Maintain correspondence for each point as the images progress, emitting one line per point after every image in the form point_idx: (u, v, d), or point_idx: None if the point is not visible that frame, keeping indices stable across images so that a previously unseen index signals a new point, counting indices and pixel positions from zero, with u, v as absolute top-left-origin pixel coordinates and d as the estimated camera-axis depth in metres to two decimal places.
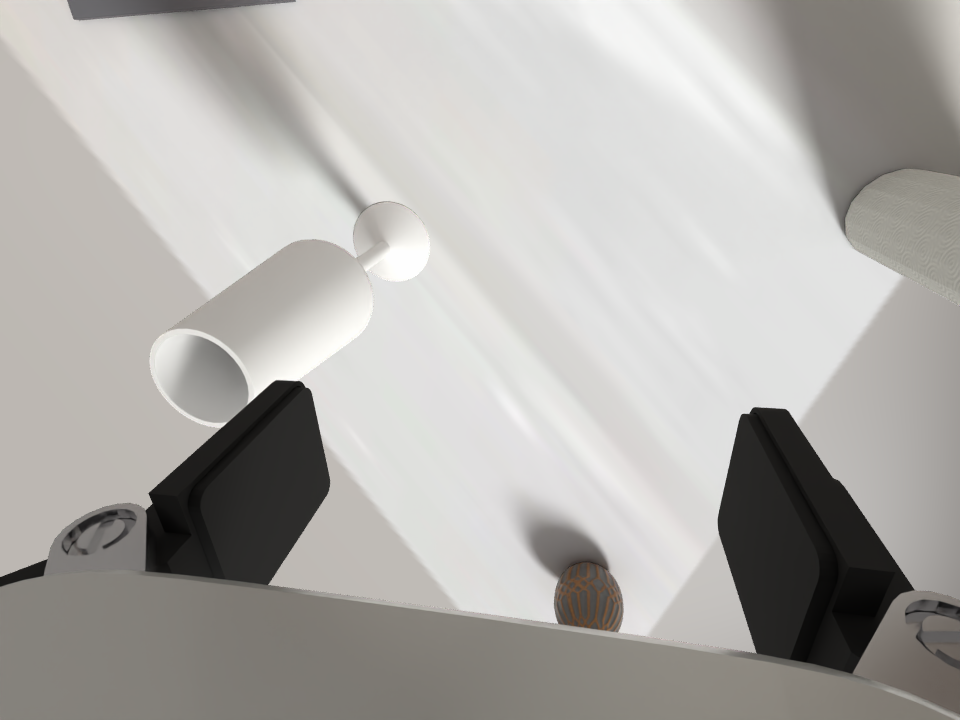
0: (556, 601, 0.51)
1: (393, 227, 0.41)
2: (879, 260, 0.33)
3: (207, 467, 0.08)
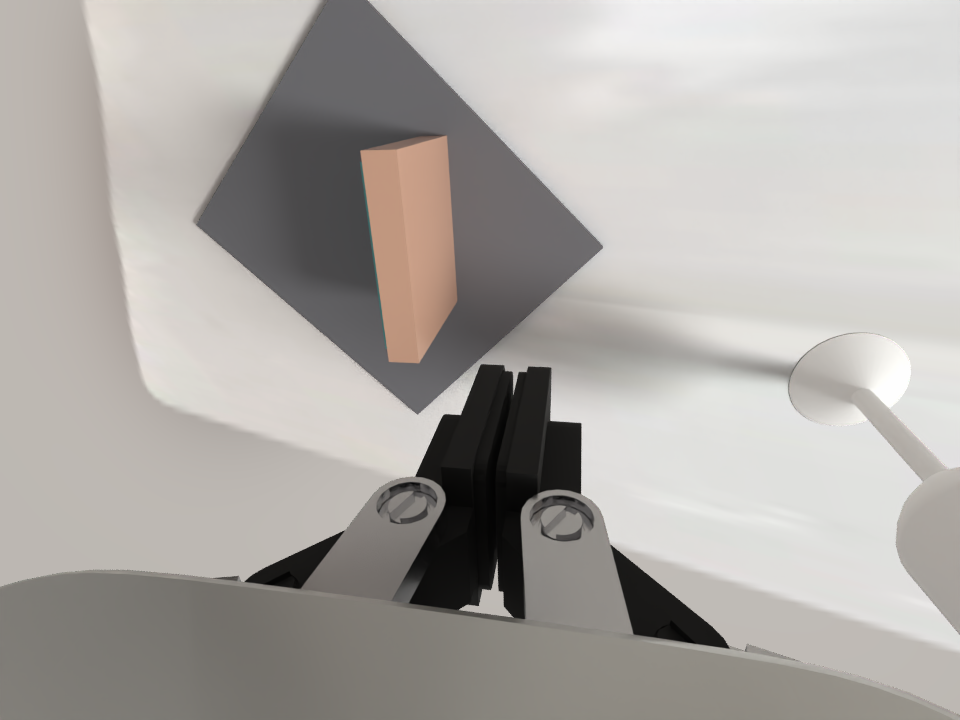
0: None
1: (855, 366, 0.30)
2: None
3: (478, 443, 0.09)
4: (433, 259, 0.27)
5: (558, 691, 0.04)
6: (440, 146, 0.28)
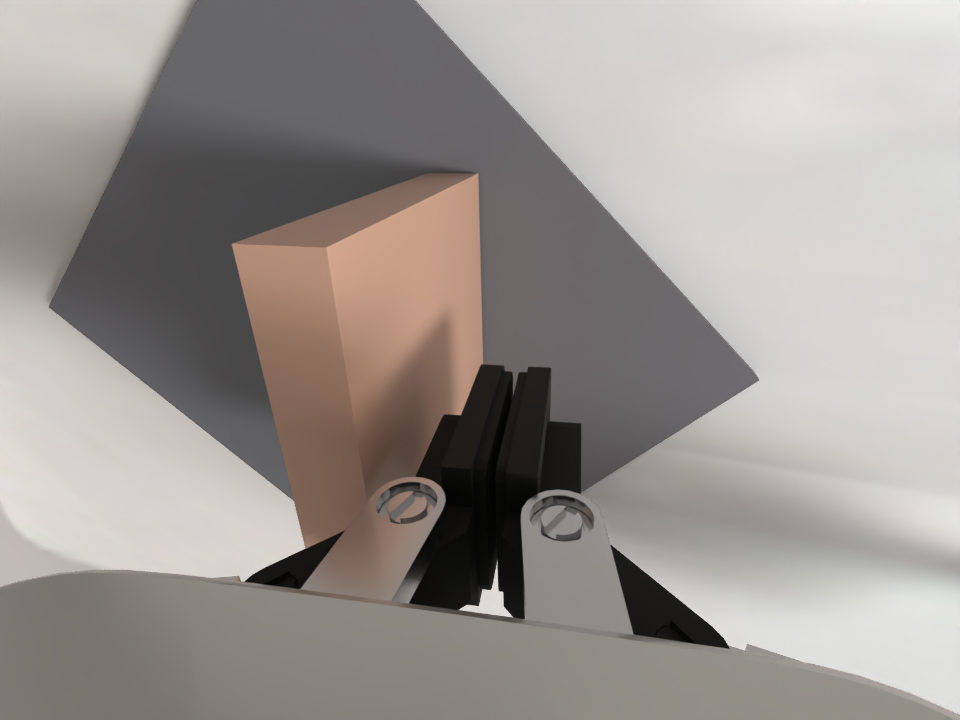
0: None
1: None
2: None
3: (479, 442, 0.09)
4: None
5: (558, 690, 0.04)
6: (463, 198, 0.14)
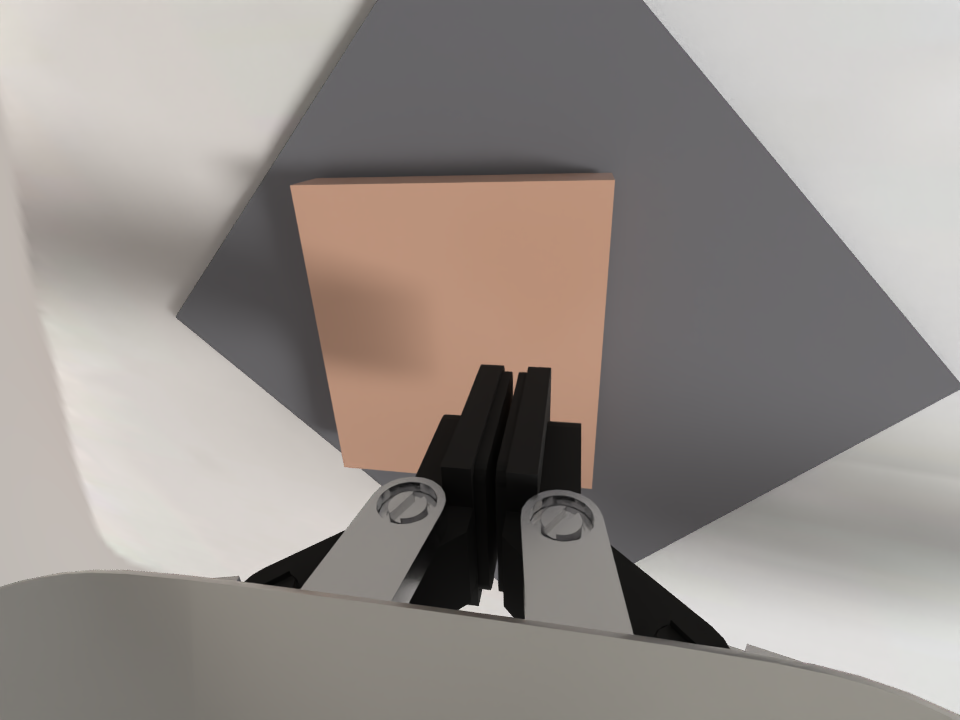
0: None
1: None
2: None
3: (478, 442, 0.09)
4: (442, 372, 0.16)
5: (558, 691, 0.04)
6: (547, 199, 0.13)
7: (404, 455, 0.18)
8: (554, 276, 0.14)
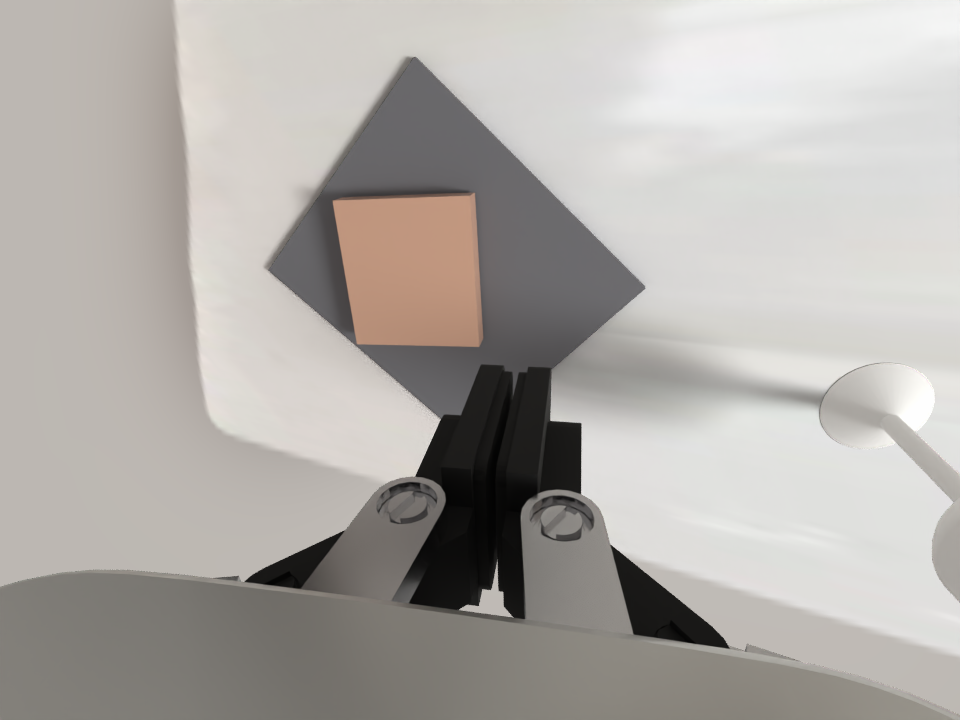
0: None
1: (882, 394, 0.33)
2: None
3: (479, 442, 0.09)
4: (403, 288, 0.34)
5: (558, 691, 0.04)
6: (443, 204, 0.31)
7: (387, 335, 0.36)
8: (449, 238, 0.32)
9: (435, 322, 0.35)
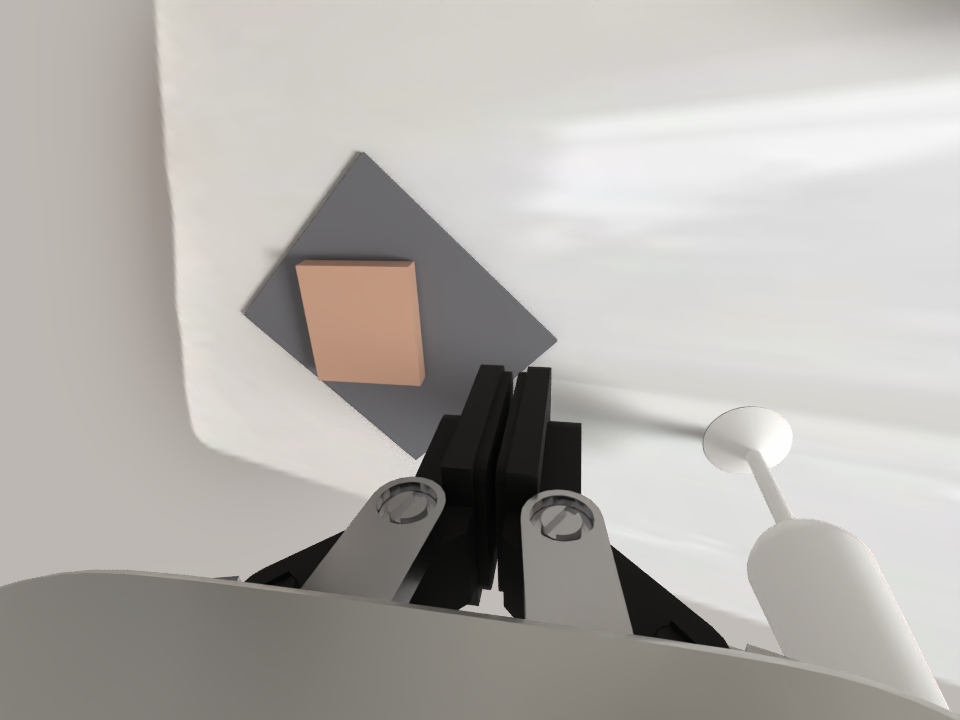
0: None
1: (748, 432, 0.40)
2: None
3: (479, 443, 0.09)
4: (356, 336, 0.41)
5: (558, 691, 0.04)
6: (386, 272, 0.38)
7: (343, 373, 0.43)
8: (393, 299, 0.39)
9: (383, 365, 0.42)
